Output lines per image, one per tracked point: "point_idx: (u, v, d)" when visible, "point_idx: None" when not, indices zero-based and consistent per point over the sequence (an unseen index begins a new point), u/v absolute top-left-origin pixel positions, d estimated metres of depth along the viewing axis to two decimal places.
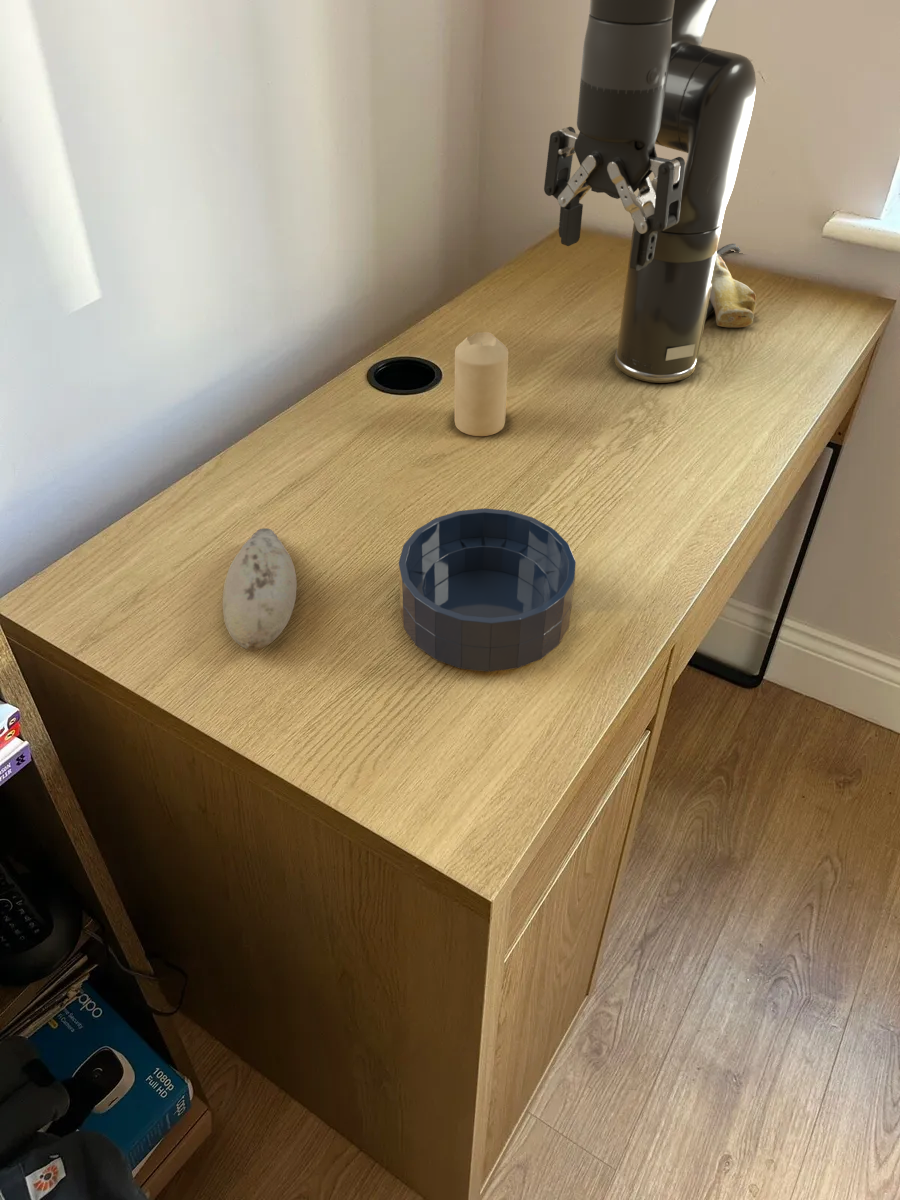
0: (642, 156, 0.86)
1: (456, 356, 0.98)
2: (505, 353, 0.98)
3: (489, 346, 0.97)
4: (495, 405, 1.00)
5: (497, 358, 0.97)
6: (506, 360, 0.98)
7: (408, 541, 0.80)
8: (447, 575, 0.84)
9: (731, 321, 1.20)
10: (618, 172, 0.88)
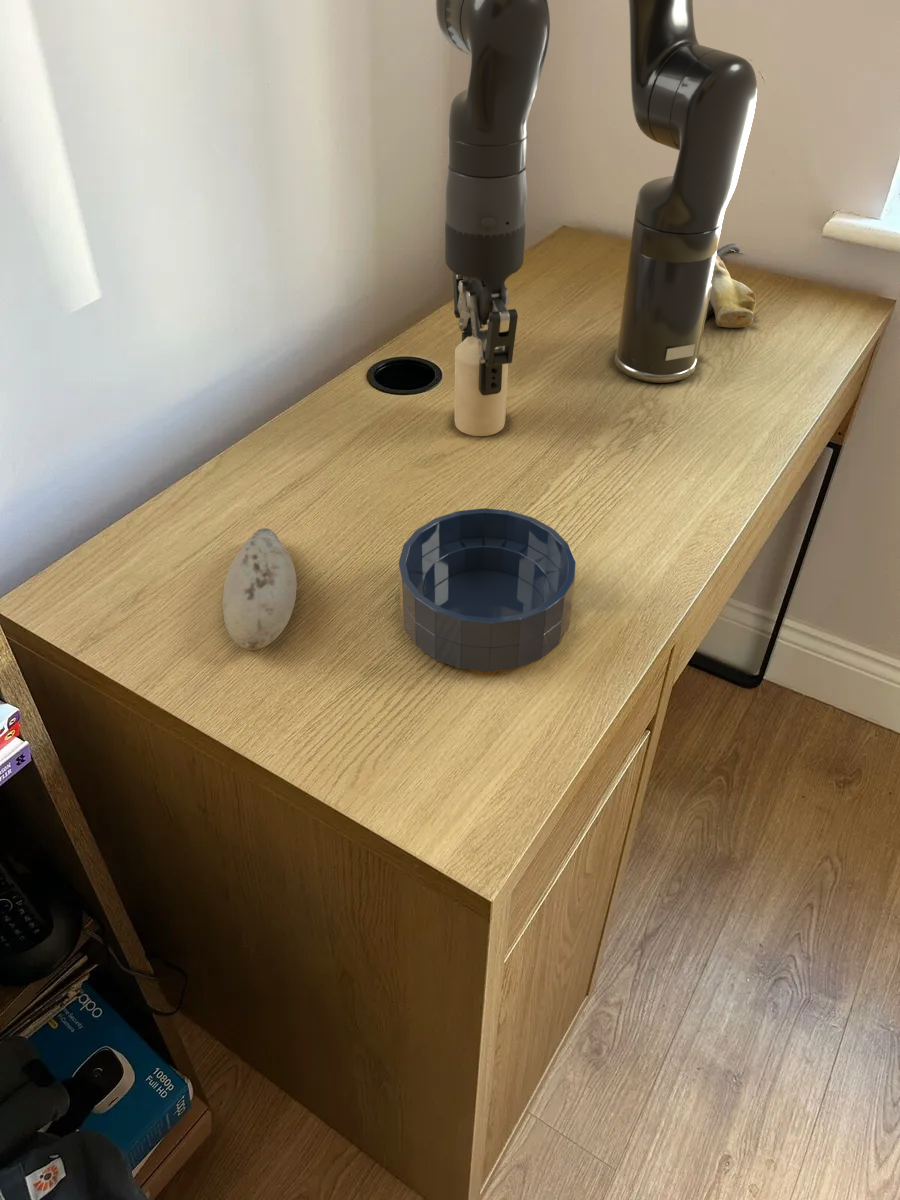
0: (486, 295, 0.91)
1: (456, 356, 0.98)
2: None
3: None
4: (495, 405, 1.00)
5: None
6: None
7: (408, 541, 0.80)
8: (447, 575, 0.84)
9: (731, 321, 1.20)
10: (470, 302, 0.93)
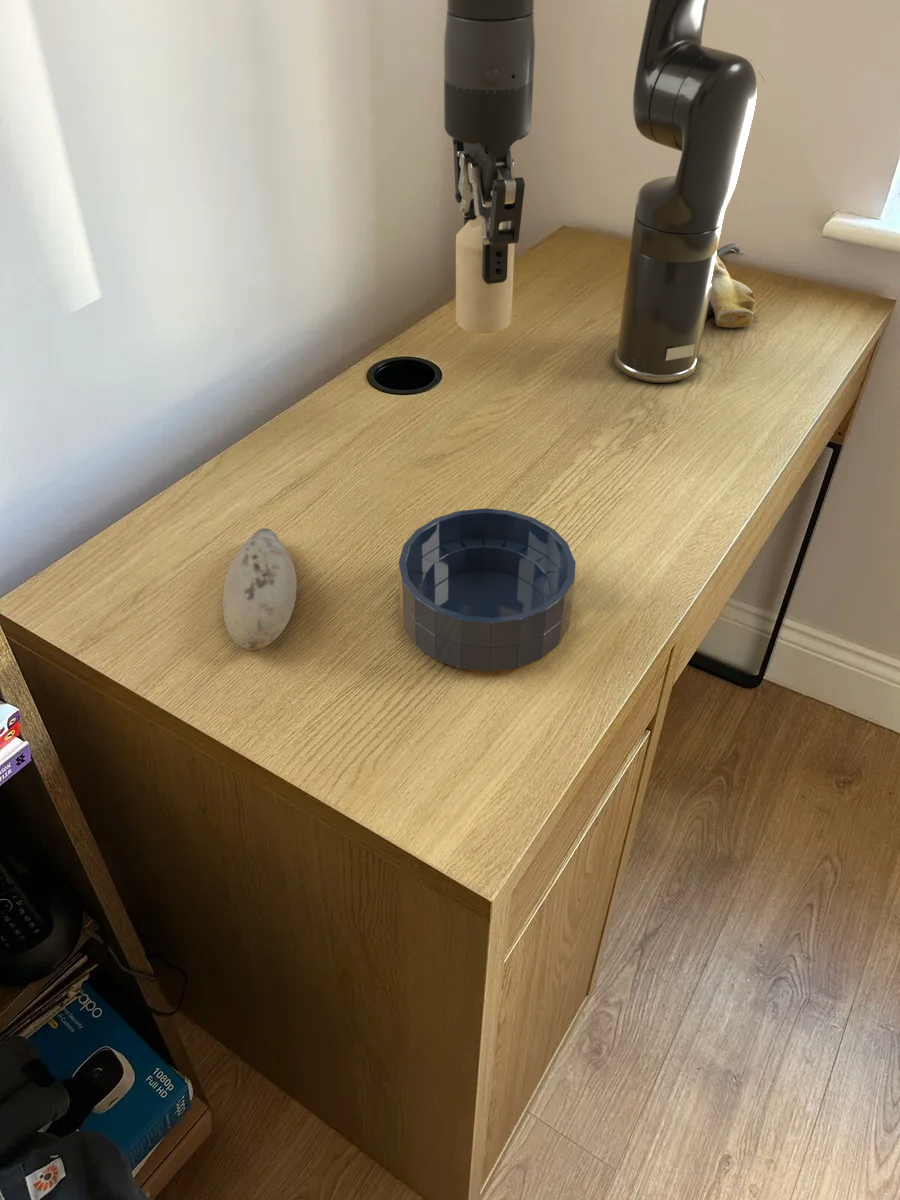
0: (489, 163, 0.82)
1: (457, 241, 0.90)
2: None
3: None
4: (500, 297, 0.92)
5: None
6: (512, 245, 0.90)
7: (408, 541, 0.80)
8: (447, 575, 0.84)
9: (731, 321, 1.20)
10: (472, 174, 0.84)
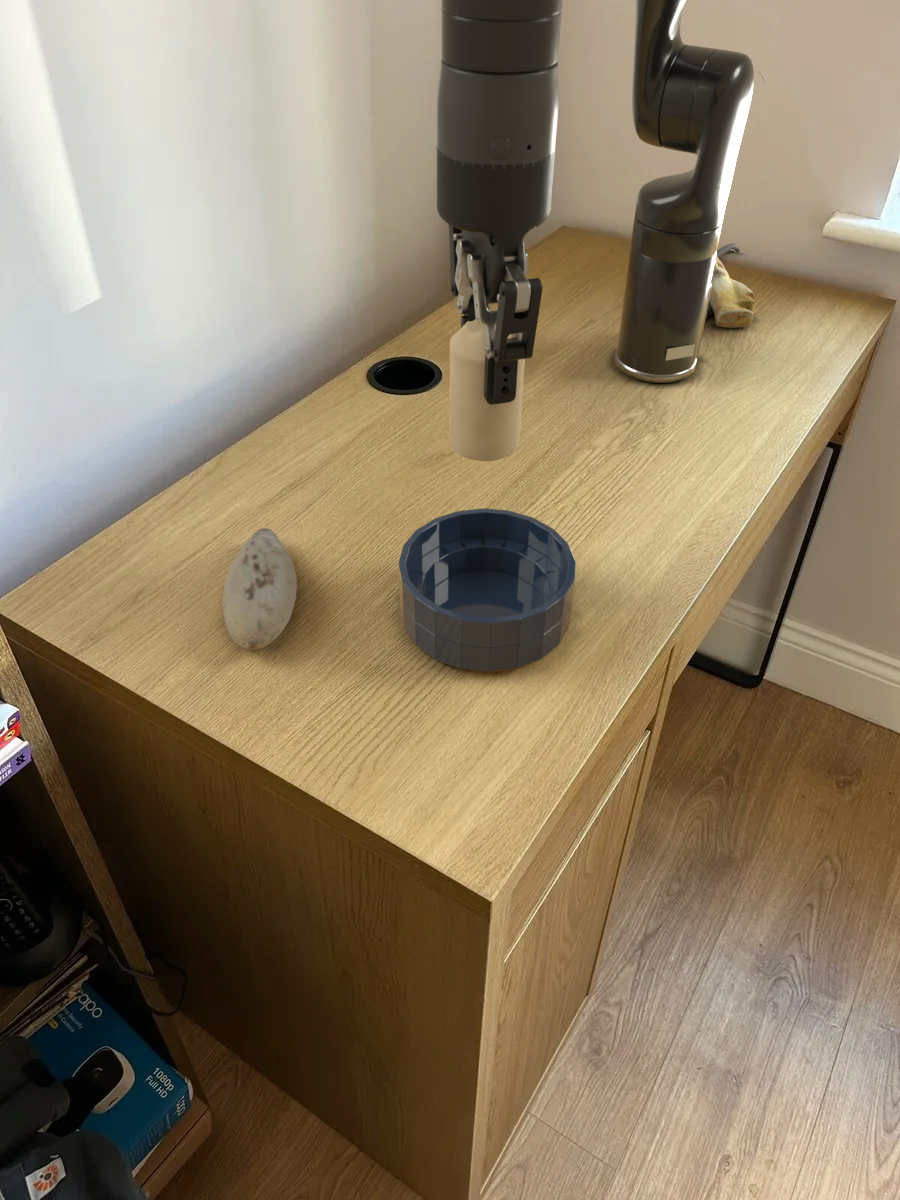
0: (495, 258, 0.62)
1: (452, 349, 0.69)
2: None
3: None
4: (506, 418, 0.71)
5: None
6: None
7: (408, 541, 0.80)
8: (447, 575, 0.84)
9: (731, 321, 1.20)
10: (473, 269, 0.64)
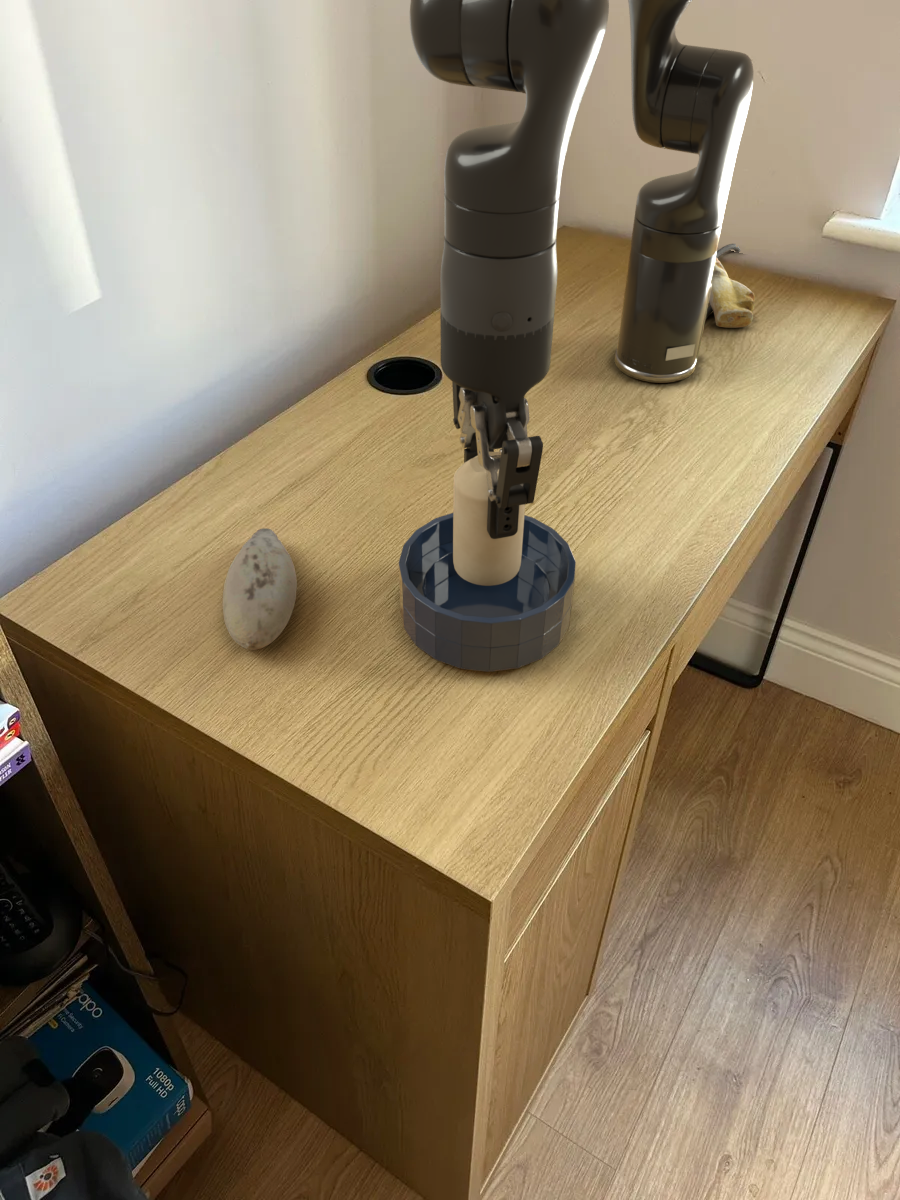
0: (498, 415, 0.64)
1: (455, 486, 0.72)
2: None
3: None
4: (508, 548, 0.74)
5: None
6: None
7: (408, 541, 0.80)
8: (447, 575, 0.84)
9: (730, 321, 1.20)
10: (476, 421, 0.66)
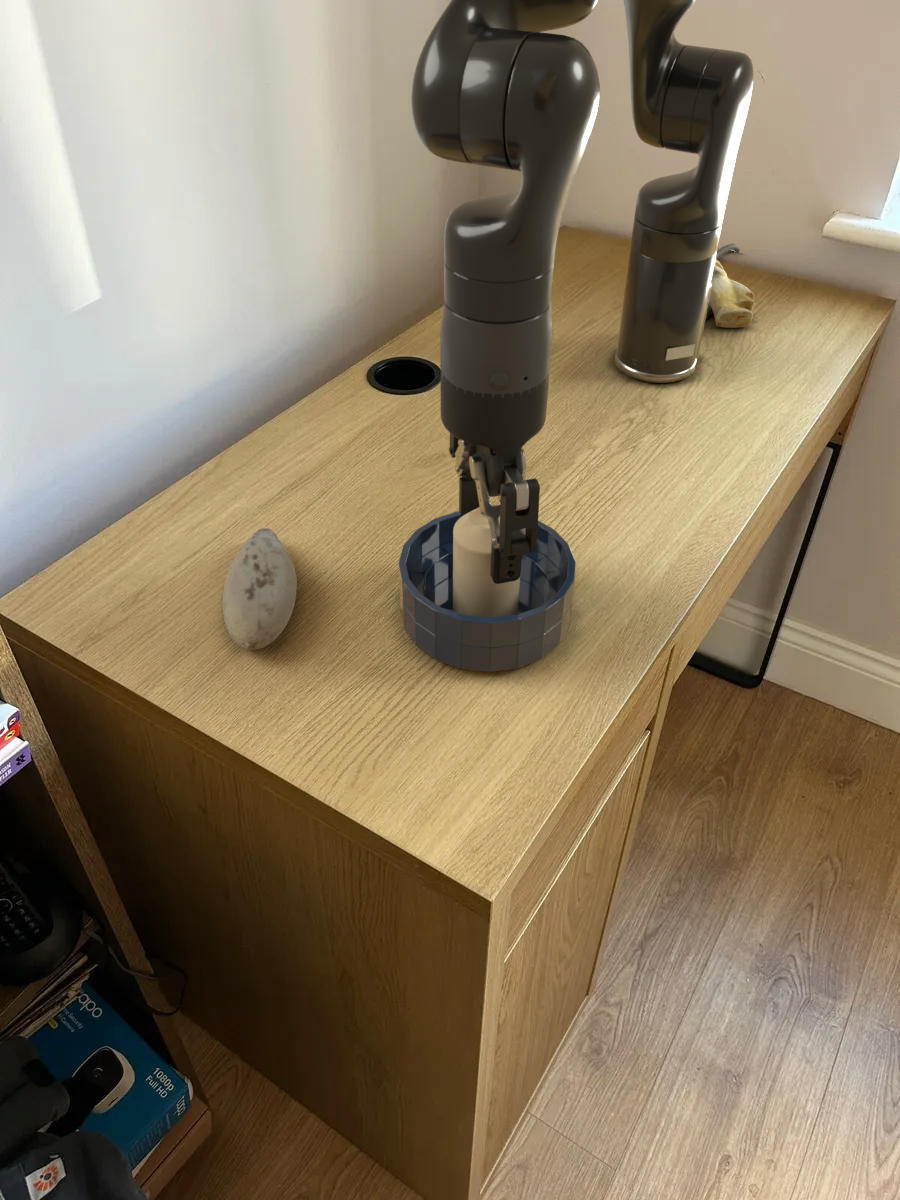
0: (495, 464, 0.67)
1: (455, 538, 0.75)
2: None
3: None
4: (505, 596, 0.77)
5: None
6: None
7: (408, 541, 0.80)
8: (447, 575, 0.84)
9: (730, 321, 1.20)
10: (474, 471, 0.69)
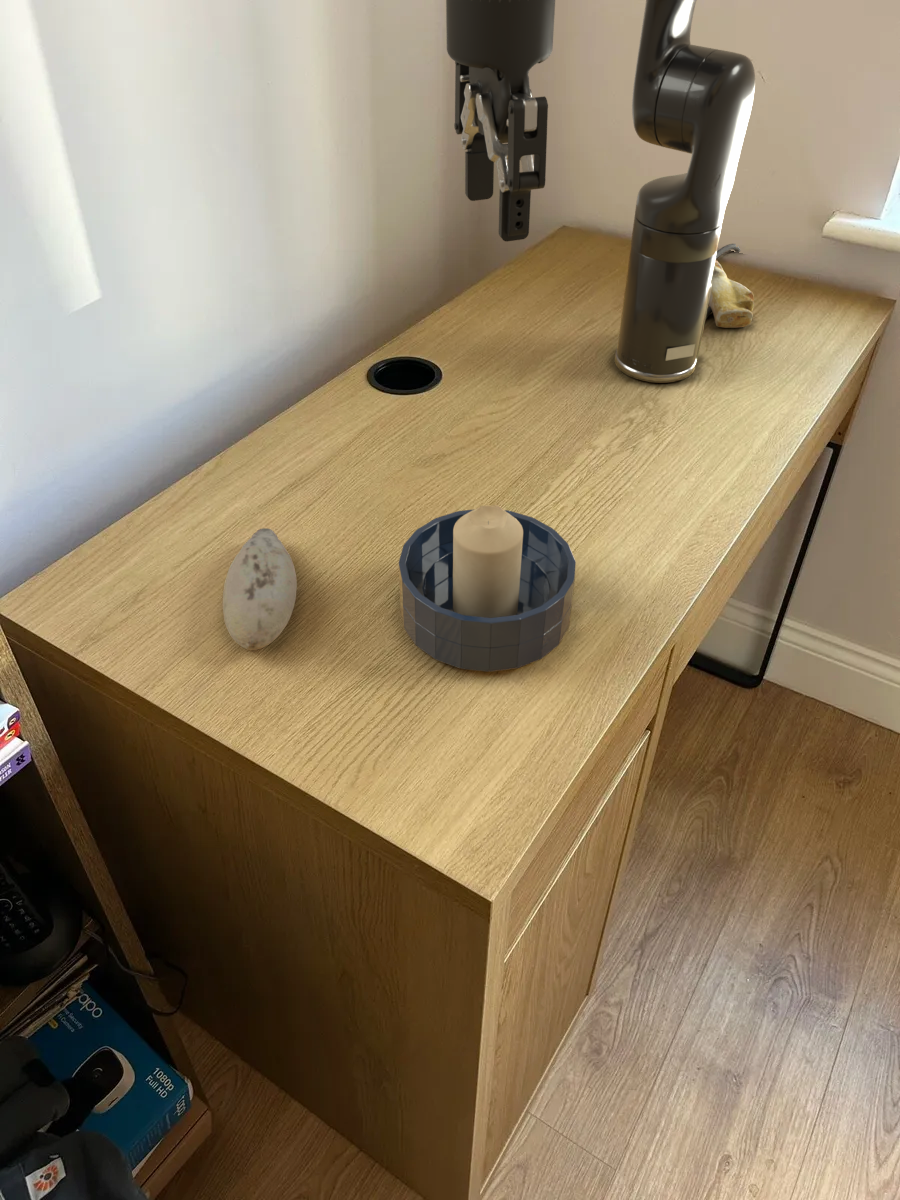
0: (502, 89, 0.67)
1: (455, 538, 0.75)
2: (519, 534, 0.75)
3: (498, 528, 0.74)
4: (505, 596, 0.77)
5: (508, 543, 0.74)
6: (520, 543, 0.75)
7: (408, 541, 0.80)
8: (447, 575, 0.84)
9: (730, 321, 1.20)
10: (481, 107, 0.69)
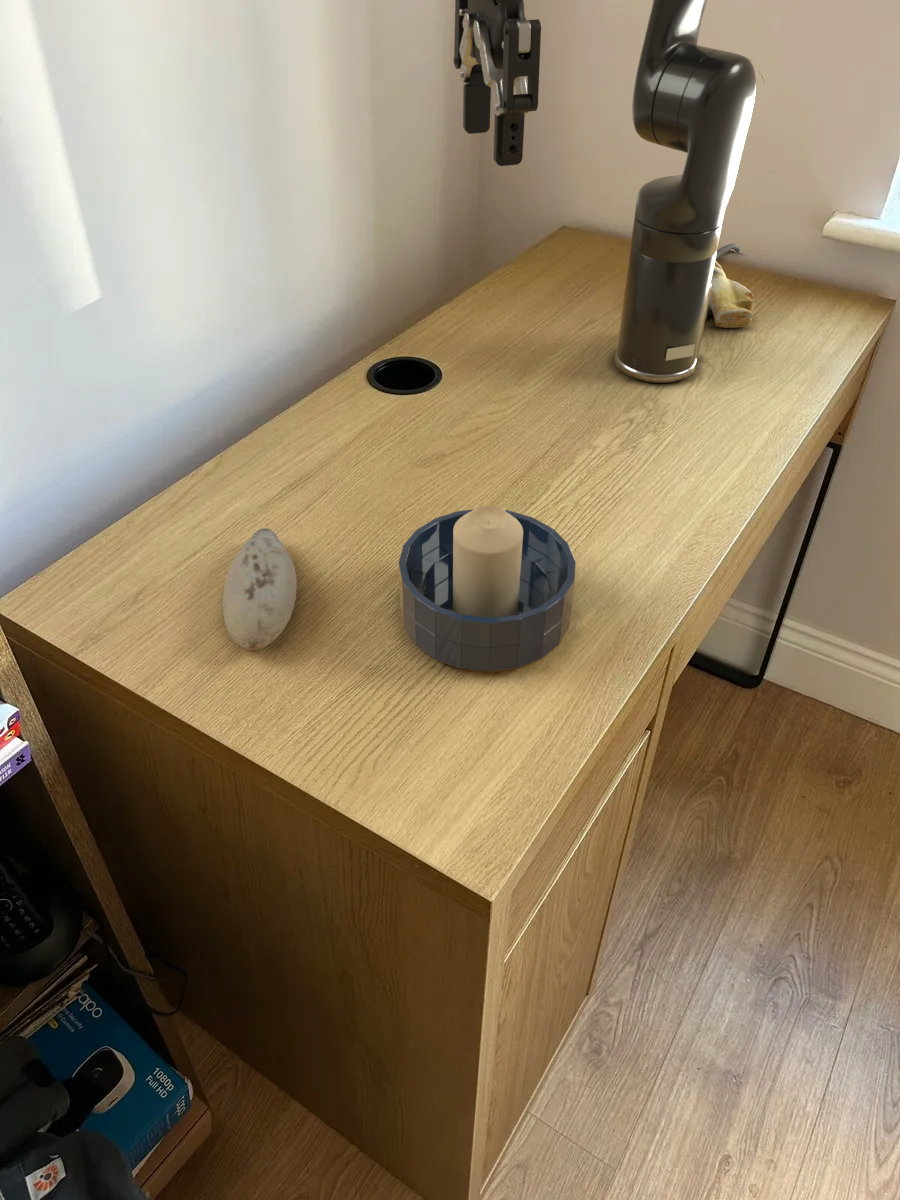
0: (498, 14, 0.70)
1: (455, 538, 0.75)
2: (519, 534, 0.75)
3: (498, 528, 0.74)
4: (505, 596, 0.77)
5: (508, 543, 0.74)
6: (520, 543, 0.75)
7: (408, 541, 0.80)
8: (447, 575, 0.84)
9: (730, 321, 1.20)
10: (478, 33, 0.72)
